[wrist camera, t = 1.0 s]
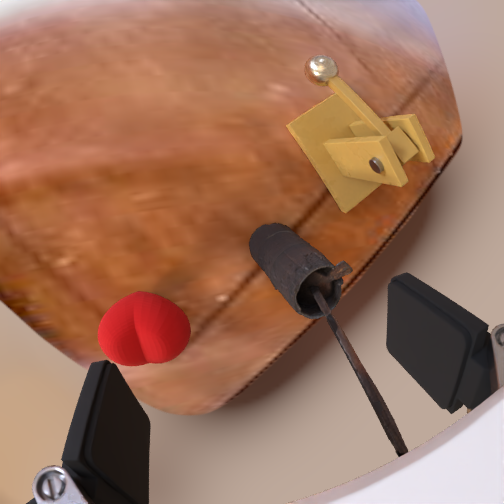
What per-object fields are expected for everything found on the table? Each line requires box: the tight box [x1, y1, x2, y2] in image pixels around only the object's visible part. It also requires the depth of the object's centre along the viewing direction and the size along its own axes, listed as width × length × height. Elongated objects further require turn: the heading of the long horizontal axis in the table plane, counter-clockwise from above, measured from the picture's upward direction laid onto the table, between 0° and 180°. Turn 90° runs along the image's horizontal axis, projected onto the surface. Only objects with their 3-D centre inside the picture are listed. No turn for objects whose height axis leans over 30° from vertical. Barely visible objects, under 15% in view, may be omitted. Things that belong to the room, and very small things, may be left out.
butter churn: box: [249, 223, 408, 457], centre depth 21 cm, size 9×10×28 cm
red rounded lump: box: [98, 291, 191, 366], centre depth 29 cm, size 9×7×10 cm
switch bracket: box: [286, 93, 435, 213], centre depth 27 cm, size 12×9×12 cm
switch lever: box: [305, 55, 419, 166], centre depth 23 cm, size 13×3×3 cm, turn 37°
